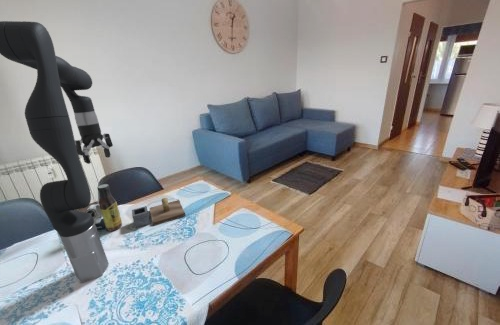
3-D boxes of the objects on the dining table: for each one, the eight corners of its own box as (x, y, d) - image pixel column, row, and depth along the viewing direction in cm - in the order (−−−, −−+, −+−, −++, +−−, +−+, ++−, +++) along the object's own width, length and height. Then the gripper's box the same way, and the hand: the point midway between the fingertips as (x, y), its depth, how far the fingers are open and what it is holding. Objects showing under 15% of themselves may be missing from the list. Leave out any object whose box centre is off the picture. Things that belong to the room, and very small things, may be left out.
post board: (185, 215, 107) (182, 201, 104) (153, 225, 101) (149, 210, 98) (179, 202, 118) (176, 189, 116) (150, 210, 113) (146, 196, 110)
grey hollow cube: (150, 223, 102) (147, 212, 100) (135, 228, 100) (132, 216, 98) (149, 217, 107) (146, 206, 105) (134, 221, 105) (131, 209, 103)
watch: (88, 234, 97) (80, 212, 93) (97, 223, 105) (90, 202, 101) (102, 232, 98) (94, 210, 94) (110, 221, 105) (103, 200, 102)
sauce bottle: (117, 231, 98) (104, 189, 91) (103, 232, 98) (89, 190, 91) (125, 222, 104) (114, 182, 97) (112, 222, 105) (99, 183, 97)
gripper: (74, 126, 88) (87, 166, 93) (109, 120, 100) (119, 156, 105) (63, 126, 91) (76, 164, 96) (99, 120, 103) (108, 154, 108)
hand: (98, 160), depth 101 cm, fingers open, 8 cm apart
